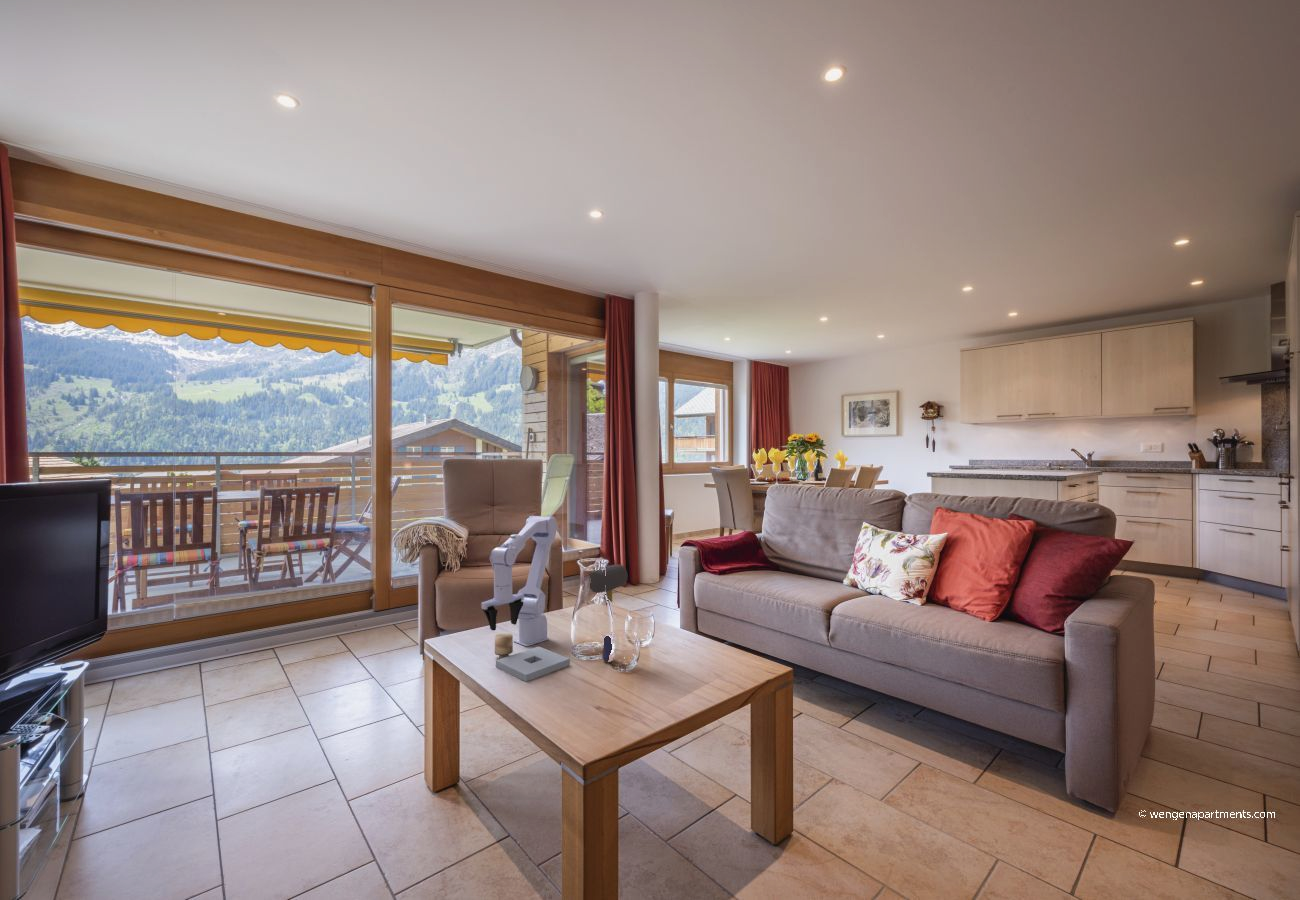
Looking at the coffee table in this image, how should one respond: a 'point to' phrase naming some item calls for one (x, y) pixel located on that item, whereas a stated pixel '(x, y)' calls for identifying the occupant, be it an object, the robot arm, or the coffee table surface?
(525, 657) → the mortise board
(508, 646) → the oak peg
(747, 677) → the coffee table surface
